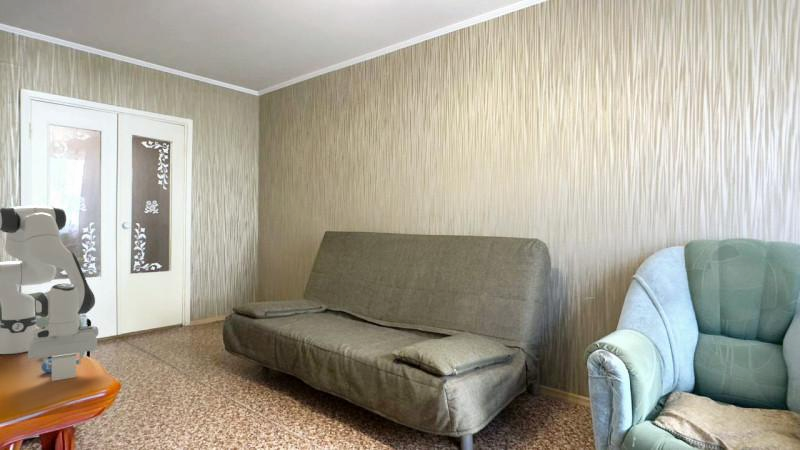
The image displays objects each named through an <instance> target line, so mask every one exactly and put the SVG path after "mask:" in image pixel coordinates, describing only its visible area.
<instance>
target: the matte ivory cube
mask: <svg viewBox="0 0 800 450" xmlns="http://www.w3.org/2000/svg"><path fill="white" fill-rule="evenodd" d="M51 359H52V372H51V382H55V381H59V380H65V379H72V378H76V377H77V365H76V359H77V353H72V354H65V355H58V356H51Z"/></svg>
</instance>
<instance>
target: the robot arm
mask: <svg viewBox="0 0 800 450" xmlns="http://www.w3.org/2000/svg"><path fill="white" fill-rule="evenodd" d="M66 224H67V214H66V212H65V210H64V209H63V208H62V207H61V206H56V205H52V206H51V205H50V206H47V205H21V206H11V205H10V206H6V207H1V208H0V231H1V232H2V233H6V235H5V236H6V238H5V246H4V250H5V252H6V254H7V255H9V256H10V257H11V258H13V259H17V260H12V261H0V307H1V319H0V355H13V354H21V353H26V352H27V358H28V359H29V360H35V359H41V358H42V363H43V362H44V363H45V364H46V365H47V369H52V363H49V362H48V361H47V360H48V359H49V357H52V356H58V355H65V354H72V353H76V354H79V357H78V358H76V366H77V365H81V363H82V361H81V360H82V359H83V358H84V356H85V352H86V353H87V352H92V351H96V350H97V349H98V339H97V336H99V328H98V327H97V326H95V325H89V326H85V325H84V326H80V316H79V315H85V314H87V313H89V312H90V311H91V310H92V309H93V308H94V307H95V303H96V298H95V294H94V292H93V291H92V289H91V288H90V286H89V284H88V282H87V279H86V276H85V274H84V272H83V270H82V268H81V267H82V266H81V265H80V263H79V260H78V258H77V256H76V254H75V252H73V251H72V250H69V249H68V248H67V247H66V246H65V245H64V243H63V241H62V238H61V233H60V230H63V229H64V228H65V226H66ZM56 267H57V268H60V269H61V270H63V271H64V273H66V275H67V277H68V280H69V282H70V283H58V284H57V283H56V284H54V285H53V286H51V287H50V290H47V291H46V292H41V294H39V295H38V296H37V297H36V298H34V297H33V296H32V295H31V294H27V293H24V292H20V291H19V290H18V287H22V286H37V285H41V284H46V283H50V282H52V281H53V280H54V279H55V278H56V275H57V268H56ZM36 314H37V315H36ZM37 316H39V317H41V318H44V319H45V318H49V320H48V324H47V325H44V326H41V327H40V326H39V327H38V326H37Z"/></svg>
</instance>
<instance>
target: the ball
mask: <svg viewBox="0 0 800 450" xmlns="http://www.w3.org/2000/svg"><path fill="white" fill-rule="evenodd" d="M47 361H48V362H49V363H52V358H48V360H47ZM40 368H41V370H42V371H43V372H44V373H47V374H50V373H51V374H52V369H47V365H46V364H45V363H44V362H43V361H42V364H41V367H40Z"/></svg>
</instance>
